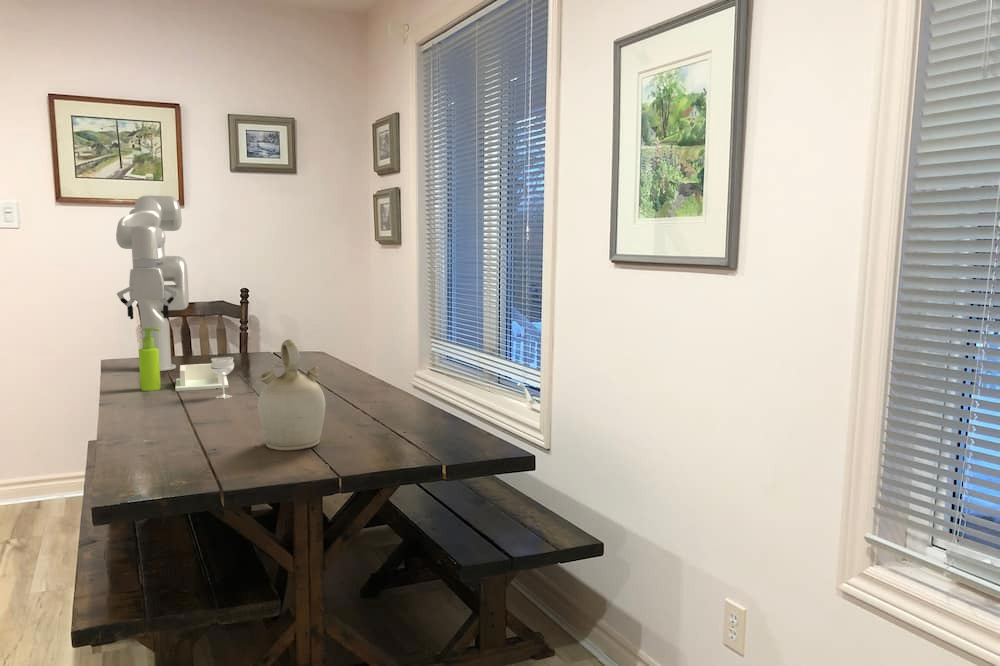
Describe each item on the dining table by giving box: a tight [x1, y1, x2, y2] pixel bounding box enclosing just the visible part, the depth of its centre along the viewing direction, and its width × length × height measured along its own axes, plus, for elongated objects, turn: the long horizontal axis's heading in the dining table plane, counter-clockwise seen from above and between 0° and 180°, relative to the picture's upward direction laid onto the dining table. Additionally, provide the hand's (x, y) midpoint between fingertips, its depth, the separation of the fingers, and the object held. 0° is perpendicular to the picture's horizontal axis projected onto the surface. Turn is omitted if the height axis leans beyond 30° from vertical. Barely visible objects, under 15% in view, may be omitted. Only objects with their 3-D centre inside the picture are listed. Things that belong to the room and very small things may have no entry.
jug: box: [257, 339, 327, 452], centre depth 175 cm, size 15×16×25 cm
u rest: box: [174, 363, 229, 392], centre depth 250 cm, size 18×16×6 cm
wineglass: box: [210, 356, 235, 399], centre depth 229 cm, size 7×7×12 cm
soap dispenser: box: [138, 328, 162, 392], centre depth 241 cm, size 6×7×20 cm
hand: (148, 318), depth 238 cm, fingers open, 9 cm apart
